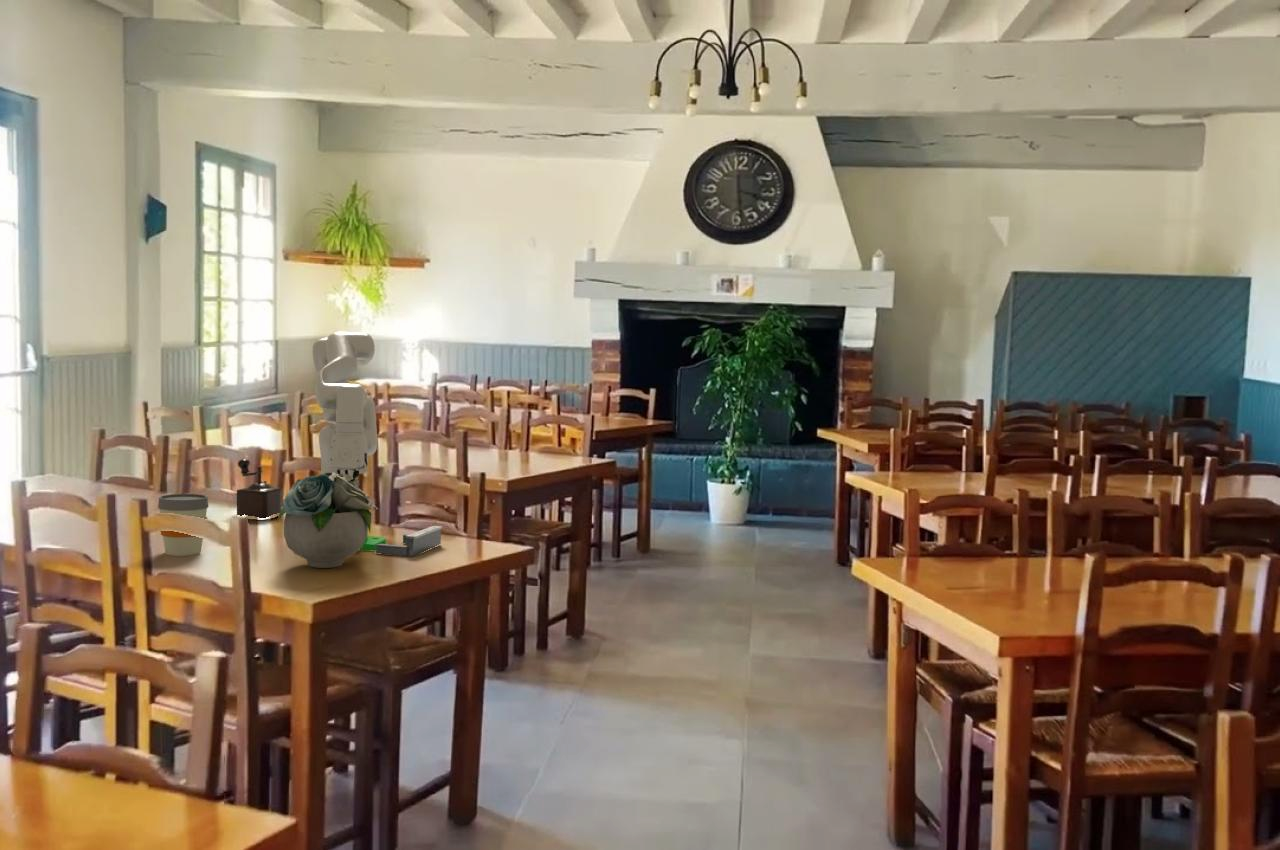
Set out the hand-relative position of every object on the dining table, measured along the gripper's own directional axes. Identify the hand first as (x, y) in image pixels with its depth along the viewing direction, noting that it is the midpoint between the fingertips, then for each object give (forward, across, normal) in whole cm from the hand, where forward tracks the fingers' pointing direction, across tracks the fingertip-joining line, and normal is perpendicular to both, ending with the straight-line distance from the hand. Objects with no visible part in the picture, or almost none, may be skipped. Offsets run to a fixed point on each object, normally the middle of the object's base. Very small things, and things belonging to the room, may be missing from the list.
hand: (348, 493), depth 330 cm
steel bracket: (+15, +18, +1) cm, 24 cm away
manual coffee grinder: (+14, -50, +31) cm, 60 cm away
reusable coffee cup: (+15, -34, -28) cm, 46 cm away
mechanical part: (+15, +7, 0) cm, 17 cm away
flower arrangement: (+16, +8, -28) cm, 33 cm away
